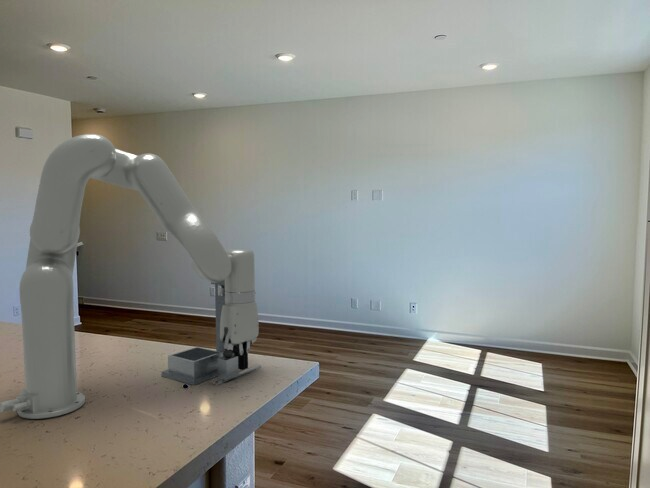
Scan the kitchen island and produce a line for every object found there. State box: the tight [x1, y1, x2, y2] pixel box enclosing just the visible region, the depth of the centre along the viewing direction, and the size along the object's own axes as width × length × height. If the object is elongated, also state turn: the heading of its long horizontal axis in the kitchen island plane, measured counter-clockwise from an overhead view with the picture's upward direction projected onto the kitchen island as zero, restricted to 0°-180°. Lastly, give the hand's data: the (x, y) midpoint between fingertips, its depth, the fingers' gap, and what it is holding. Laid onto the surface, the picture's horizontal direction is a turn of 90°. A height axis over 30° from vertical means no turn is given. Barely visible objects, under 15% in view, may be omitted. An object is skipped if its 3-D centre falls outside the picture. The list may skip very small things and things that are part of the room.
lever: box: [217, 349, 239, 381], centre depth 118 cm, size 4×3×7 cm
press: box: [161, 280, 262, 386], centre depth 123 cm, size 19×17×25 cm
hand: (241, 368), depth 122 cm, fingers closed
